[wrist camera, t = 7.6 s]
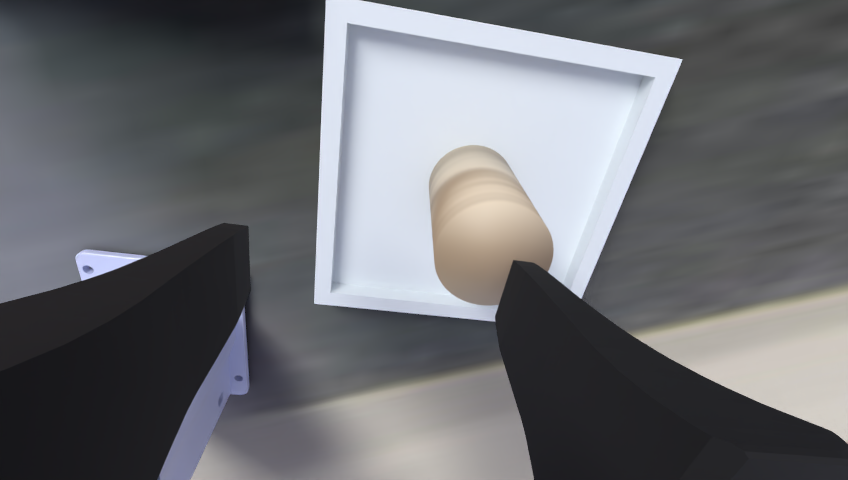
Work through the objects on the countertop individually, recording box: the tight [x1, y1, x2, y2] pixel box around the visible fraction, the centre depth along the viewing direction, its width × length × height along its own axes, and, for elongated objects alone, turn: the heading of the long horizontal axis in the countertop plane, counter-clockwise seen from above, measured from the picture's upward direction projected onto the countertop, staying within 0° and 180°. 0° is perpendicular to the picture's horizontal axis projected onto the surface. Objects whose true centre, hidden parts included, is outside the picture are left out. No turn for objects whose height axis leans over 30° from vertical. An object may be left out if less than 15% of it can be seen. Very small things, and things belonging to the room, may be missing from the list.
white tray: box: [314, 0, 683, 322], centre depth 19 cm, size 14×14×2 cm
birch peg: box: [429, 145, 554, 306], centre depth 17 cm, size 4×4×6 cm
